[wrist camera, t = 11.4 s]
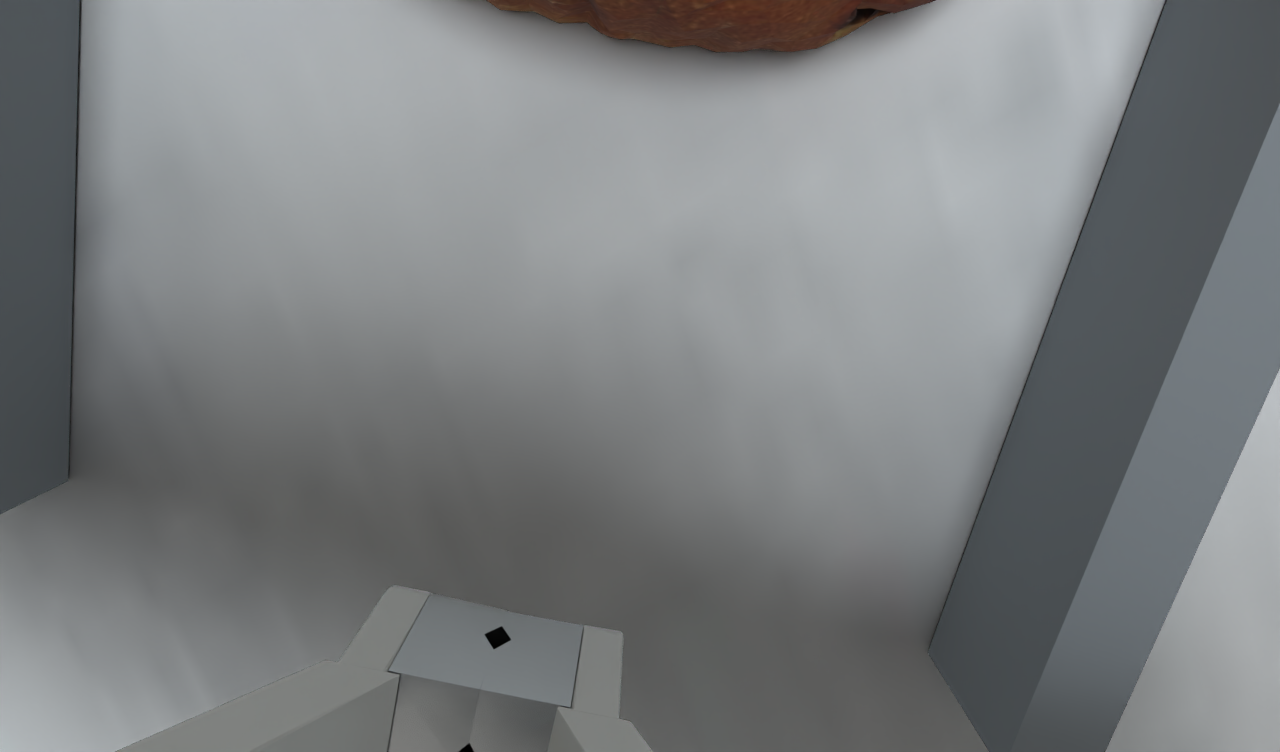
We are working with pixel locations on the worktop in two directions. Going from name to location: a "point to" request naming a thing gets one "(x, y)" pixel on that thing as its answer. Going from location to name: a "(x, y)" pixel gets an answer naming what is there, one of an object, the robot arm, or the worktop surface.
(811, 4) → the bread roll
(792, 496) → the worktop surface
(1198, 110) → the slate bay
